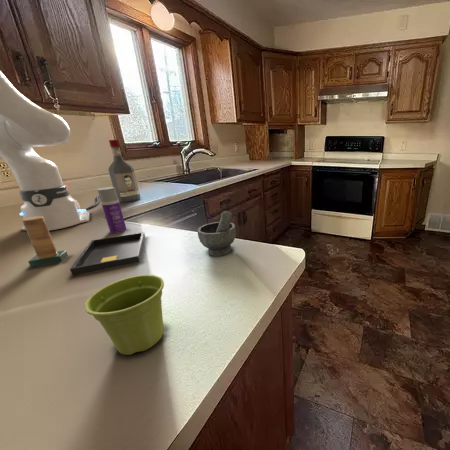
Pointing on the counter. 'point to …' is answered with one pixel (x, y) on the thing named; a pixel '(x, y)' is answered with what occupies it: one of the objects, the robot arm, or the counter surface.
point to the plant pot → (130, 312)
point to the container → (112, 209)
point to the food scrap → (109, 258)
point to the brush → (42, 242)
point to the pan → (110, 253)
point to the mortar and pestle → (218, 235)
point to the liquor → (122, 176)
